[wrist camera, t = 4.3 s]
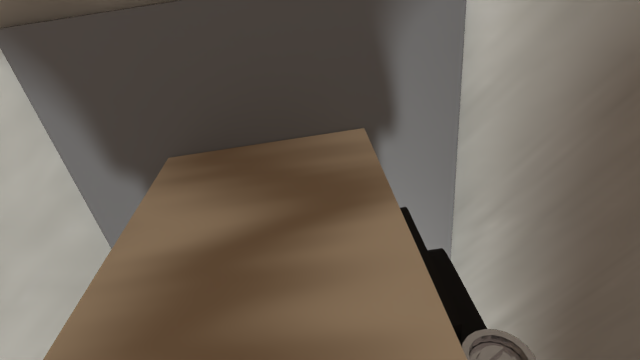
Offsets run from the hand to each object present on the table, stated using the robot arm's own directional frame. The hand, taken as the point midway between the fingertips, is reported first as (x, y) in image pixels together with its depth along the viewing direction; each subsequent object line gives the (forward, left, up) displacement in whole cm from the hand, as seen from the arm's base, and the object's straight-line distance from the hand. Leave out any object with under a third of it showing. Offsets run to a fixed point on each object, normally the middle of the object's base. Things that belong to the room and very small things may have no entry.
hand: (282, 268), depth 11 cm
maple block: (0, 0, -2) cm, 2 cm away
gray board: (0, 0, -3) cm, 3 cm away
